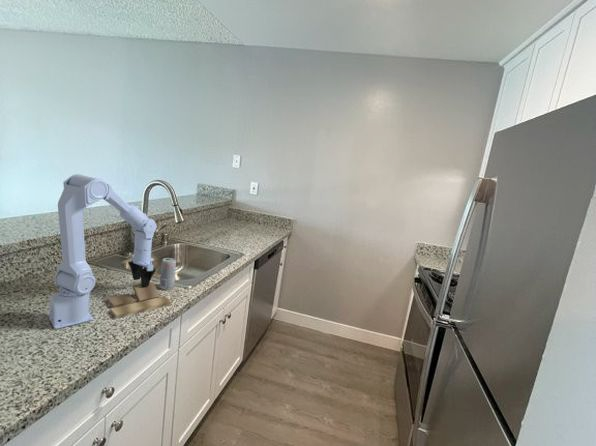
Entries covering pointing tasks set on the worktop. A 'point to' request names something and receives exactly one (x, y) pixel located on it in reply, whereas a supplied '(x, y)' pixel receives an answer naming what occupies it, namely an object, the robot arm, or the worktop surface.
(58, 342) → the worktop surface
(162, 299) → the laid board
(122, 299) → the brown flat square block
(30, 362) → the worktop surface
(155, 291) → the plank
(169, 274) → the energy drink
